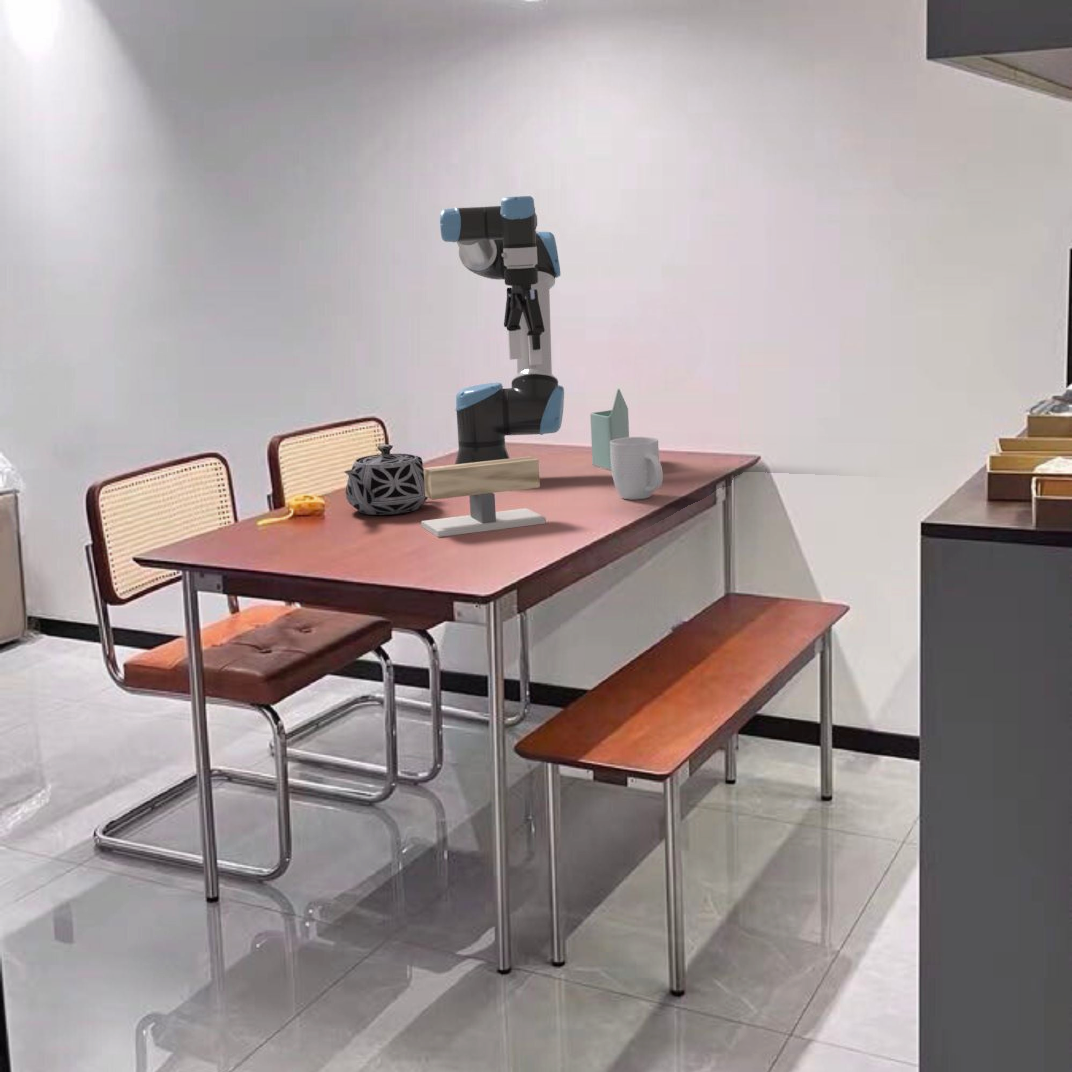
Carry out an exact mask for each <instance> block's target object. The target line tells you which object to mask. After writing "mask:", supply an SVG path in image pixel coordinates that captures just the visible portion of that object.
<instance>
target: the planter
mask: <svg viewBox="0 0 1072 1072" xmlns="http://www.w3.org/2000/svg"><path fill="white" fill-rule="evenodd" d="M614 397H615V398H614V401H613V402H614V403H613V405H612V409H610V410H602V411H596V412H591V413H590V415H589V416H590V434H591V435H590V436H591V437H590V438H591V455H592V457H591V458H592V459H591V461H592V462H591V463H592V466H594V465H595V466H594V467H596V466H598V467H597V468H600V467H602V468H601V469H603V468H605V470H607V469H608V471H610V472H612V470H611V461H610V460H611V459H610V441H611V440H614V439H619V438H626V437H630V427H629V407H628V405H627V402H626V400H625V398H624V397H623V394H622V392H621V390H620V388H617V390H616V393H615V396H614Z"/></svg>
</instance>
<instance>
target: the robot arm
mask: <svg viewBox="0 0 1072 1072" xmlns="http://www.w3.org/2000/svg"><path fill="white" fill-rule="evenodd" d="M439 225H440V227H439V228H440V234H441V235H440V236H441V239H442V240H443V242H446V243H456V244H457V246H458V256H459V259H460V261H461V263H462V265H463V266H464V267H465V268H466V270H468V271H470V272H472V273H473V274H475V275H478V276H480V277H483V278H486V279H490V280H498V281H500V280H504V284H505V286H510V287H507V288H506V301H505V302H506V303H505V312H504V320H503V327H504V328H506V331H507V336H508V337H507V339H508V341H507V342H508V360H510V361H512V360H516V365H517V366H516V367H517V369H516V371H517V372H516V373H517V375H516V376H514V378H512V380H511V387H510V388H503V387H504V386H503V384H502V383H501V382H487V383H482V384H478V385H477V384H476V385H473V386H468V387H464V388H463V389H461V390H459V391H457V393H456V396H455V405H456V406H455V411H456V425H457V440H458V441H457V442H458V443H457V444H458V451H457V455H456V458H455V462H454V465H456V464H465V463H474V462H483V461H492V460H501V459H510V458H511V457H510V455H509V453H508V451H507V448H506V436H530V435H531V436H532V435H541V436H542V435H543V436H544V435H545V434H546V435H549V434H556V433H557V432H559V430H560V429H561V427H562V422H563V414H564V401H565V388H564V387H563V385H562V386H561V385H559V380H558V378H557V377H556V376H554V375H553V372H552V371H553V369H552V335H551V333H552V332H551V304H550V302H551V301H550V299H551V298H550V289H552V288H553V287H554V286H555V284H556V279H557V278H558V277H561V266H560V260H559V253H558V247H557V241H556V238H555V235H554V234H553V233H552V232H550V231H539V230H537V227H538V215H537V213H536V207H535V200H534V197H532V196H531V195H524V196H522V195H521V196H506V197H502V198H501V200H500V205H496V206H494V205H493V206H491V205H490V206H476V207H474V206H472V207H471V206H470V207H451V208H445V209H442V210H441V211H440V215H439Z"/></svg>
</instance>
